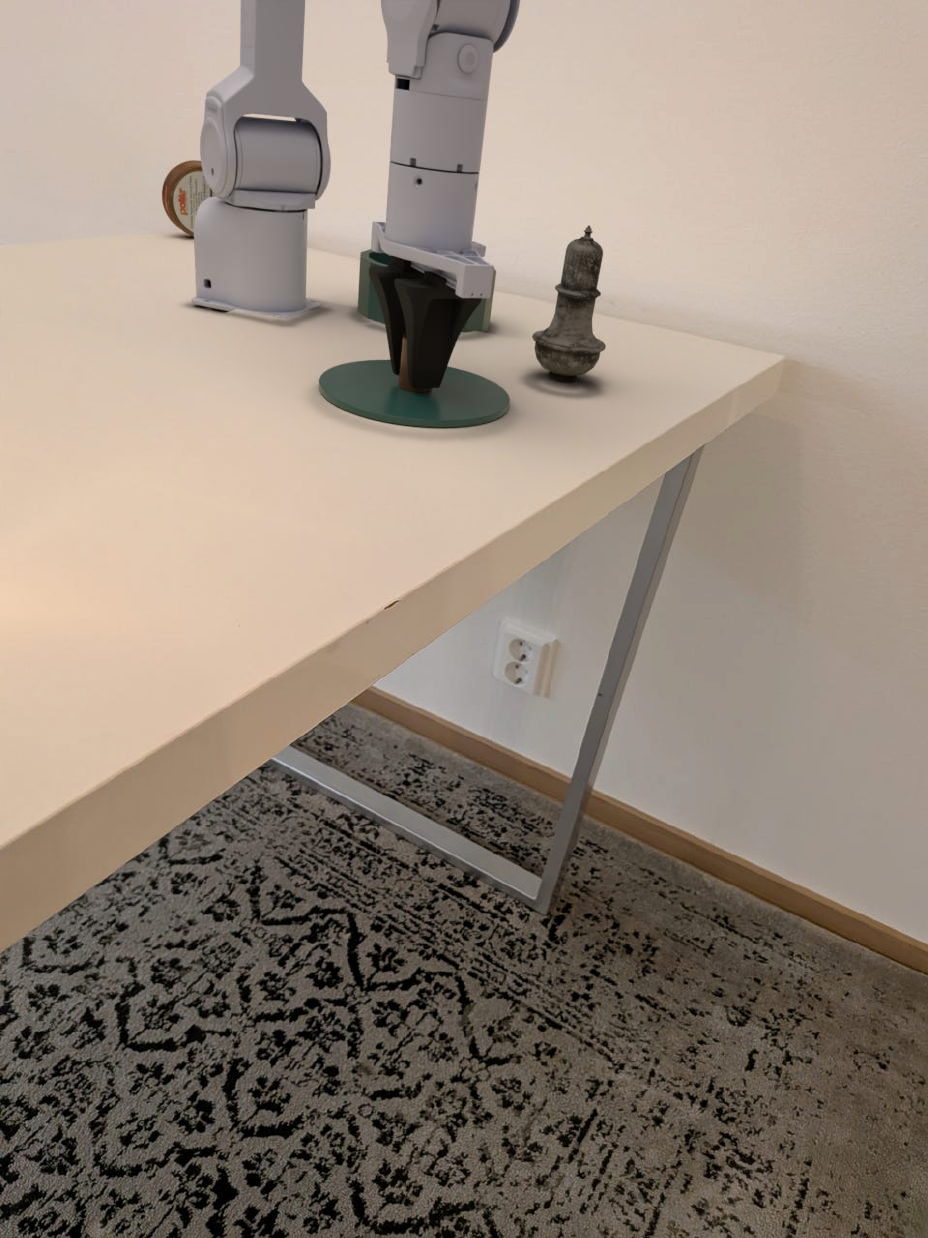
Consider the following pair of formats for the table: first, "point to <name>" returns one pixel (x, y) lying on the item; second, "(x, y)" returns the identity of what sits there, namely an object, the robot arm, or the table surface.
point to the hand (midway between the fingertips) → (416, 380)
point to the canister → (372, 307)
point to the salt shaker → (573, 315)
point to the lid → (412, 394)
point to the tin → (185, 194)
